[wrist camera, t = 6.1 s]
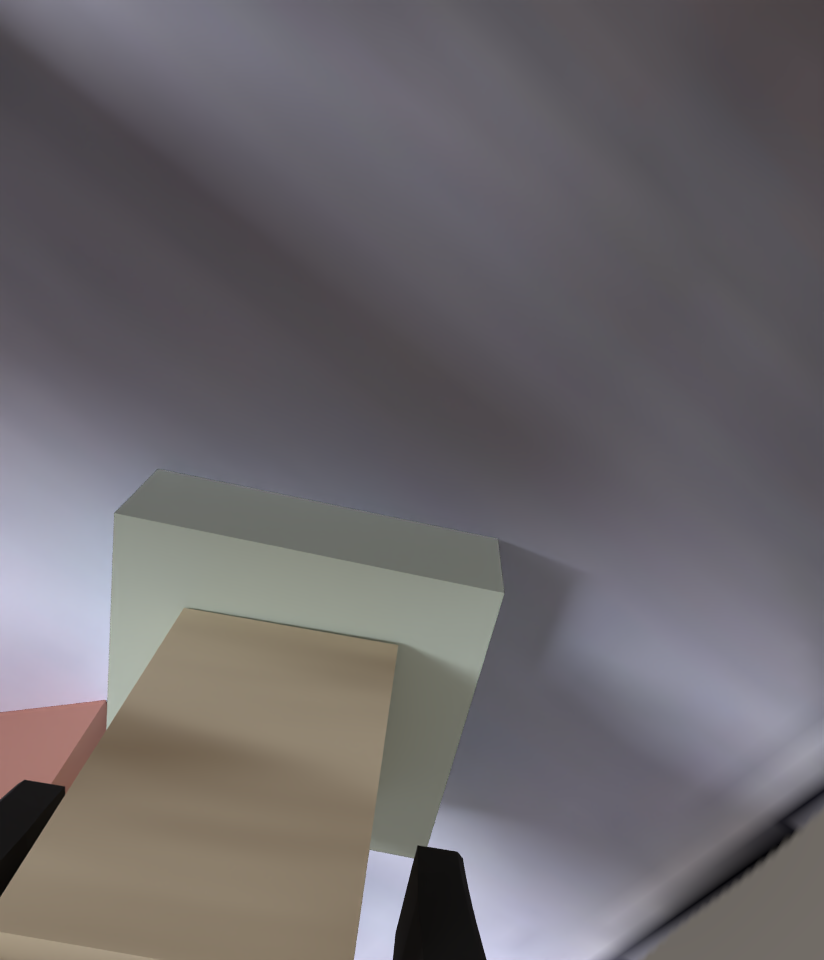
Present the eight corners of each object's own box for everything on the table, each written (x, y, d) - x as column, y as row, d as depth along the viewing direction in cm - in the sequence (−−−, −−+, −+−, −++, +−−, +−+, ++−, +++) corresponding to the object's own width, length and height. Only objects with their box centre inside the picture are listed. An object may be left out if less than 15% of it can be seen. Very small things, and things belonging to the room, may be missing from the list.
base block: (426, 771, 18) (423, 859, 15) (149, 716, 18) (103, 798, 15) (496, 528, 15) (504, 593, 13) (166, 459, 15) (114, 513, 12)
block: (162, 816, 18) (111, 930, 16) (19, 831, 19) (-54, 943, 16) (108, 695, 17) (42, 797, 14) (-45, 713, 17) (-138, 815, 15)
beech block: (369, 800, 15) (312, 1176, 9) (179, 766, 15) (9, 1123, 9) (398, 644, 13) (349, 992, 8) (184, 607, 13) (-20, 929, 8)
